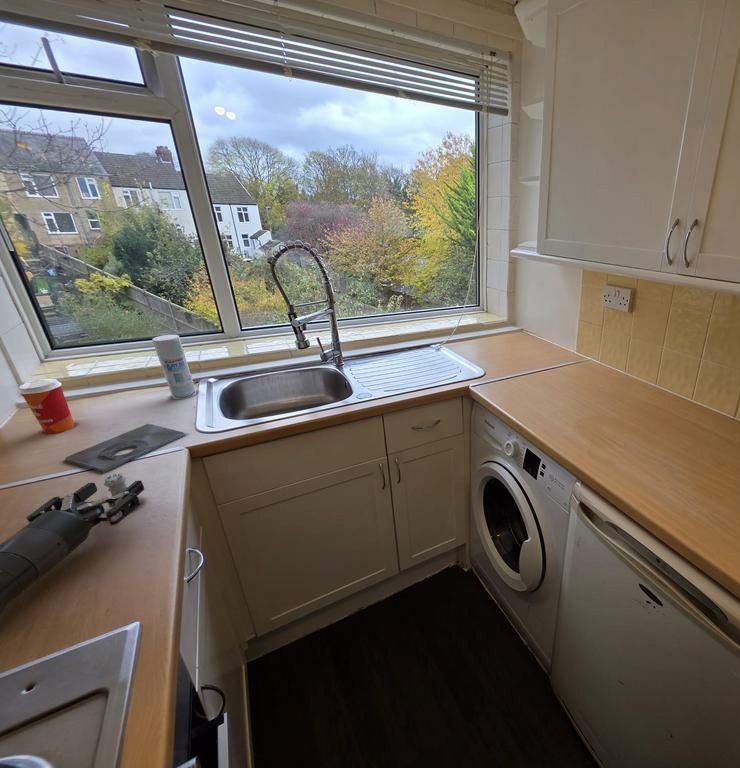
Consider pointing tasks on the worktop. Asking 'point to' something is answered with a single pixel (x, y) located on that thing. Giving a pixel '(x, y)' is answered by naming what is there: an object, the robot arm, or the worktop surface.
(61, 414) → the paper cup
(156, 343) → the spray can
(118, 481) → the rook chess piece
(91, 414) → the worktop surface
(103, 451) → the plate
